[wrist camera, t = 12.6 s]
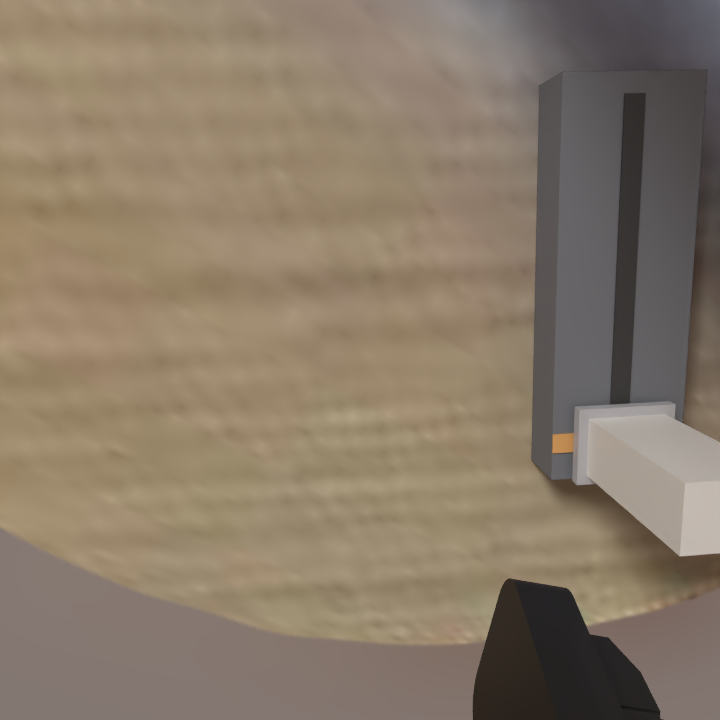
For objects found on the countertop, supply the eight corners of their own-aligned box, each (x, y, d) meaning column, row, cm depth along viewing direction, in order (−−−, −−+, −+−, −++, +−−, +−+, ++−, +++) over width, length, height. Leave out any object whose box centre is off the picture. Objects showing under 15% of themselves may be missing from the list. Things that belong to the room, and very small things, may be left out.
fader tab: (574, 406, 33) (673, 471, 24) (669, 401, 34) (799, 462, 25) (572, 480, 34) (666, 569, 25) (664, 474, 34) (789, 559, 26)
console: (539, 85, 33) (563, 71, 30) (671, 83, 34) (708, 69, 31) (531, 460, 37) (552, 480, 34) (649, 452, 38) (680, 472, 35)
